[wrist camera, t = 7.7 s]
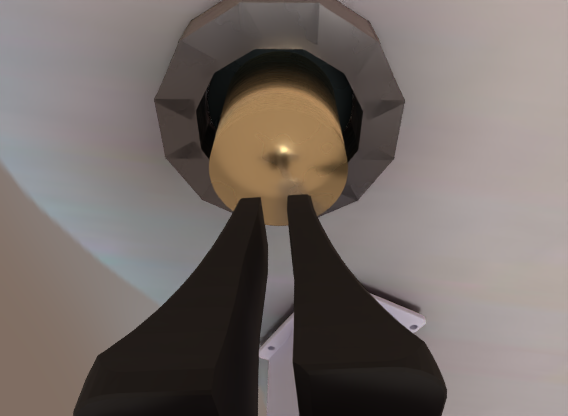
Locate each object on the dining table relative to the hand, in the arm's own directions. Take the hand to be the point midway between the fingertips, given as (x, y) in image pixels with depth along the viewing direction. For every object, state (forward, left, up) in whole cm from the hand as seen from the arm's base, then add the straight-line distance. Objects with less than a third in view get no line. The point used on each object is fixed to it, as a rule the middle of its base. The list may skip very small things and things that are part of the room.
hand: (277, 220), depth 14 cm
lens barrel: (0, 0, -8) cm, 8 cm away
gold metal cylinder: (0, 0, -8) cm, 8 cm away
